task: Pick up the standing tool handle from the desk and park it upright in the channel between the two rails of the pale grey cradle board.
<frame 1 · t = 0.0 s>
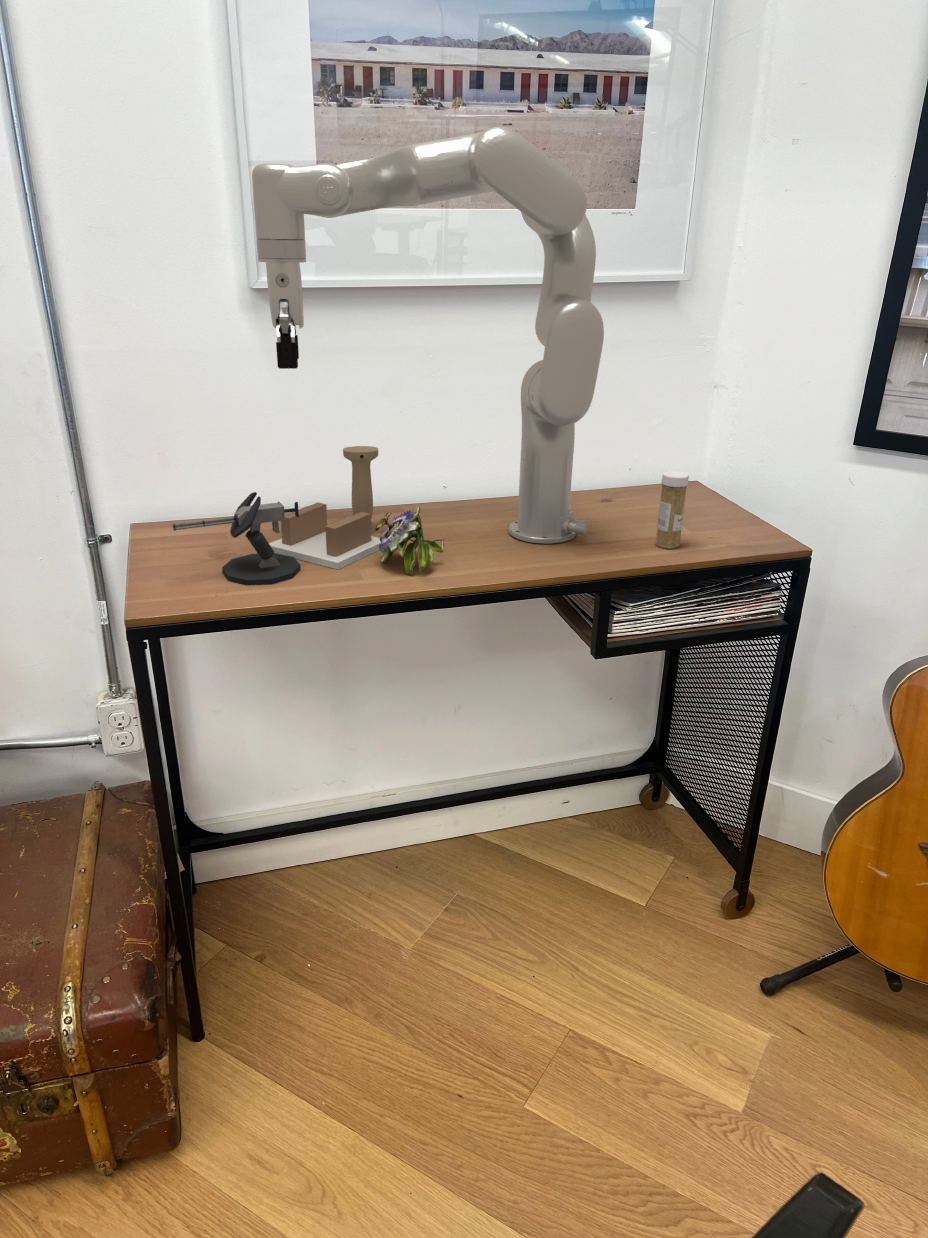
hand: (288, 363, 145), 31 cm above the table, tool pointing down, fingers open, 9 cm apart
handle: (363, 528, 166), on the table
sprinkles bottle: (667, 546, 160), on the table
passion flower: (409, 564, 149), on the table
cradle: (327, 548, 155), on the table
gun turret: (243, 575, 143), on the table
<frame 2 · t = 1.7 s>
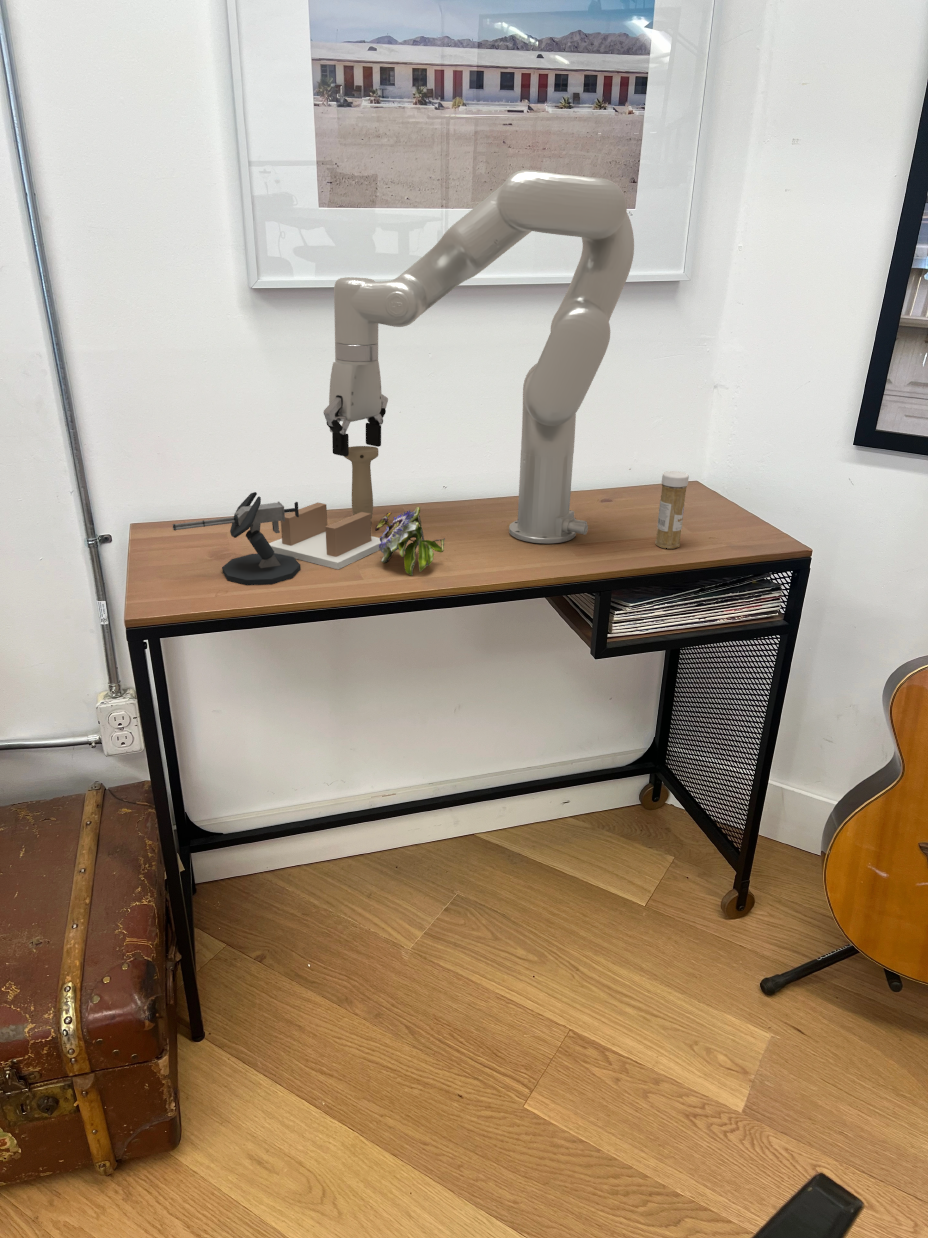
hand: (357, 450, 160), 15 cm above the table, tool pointing down, fingers open, 9 cm apart
nothing on the table moved.
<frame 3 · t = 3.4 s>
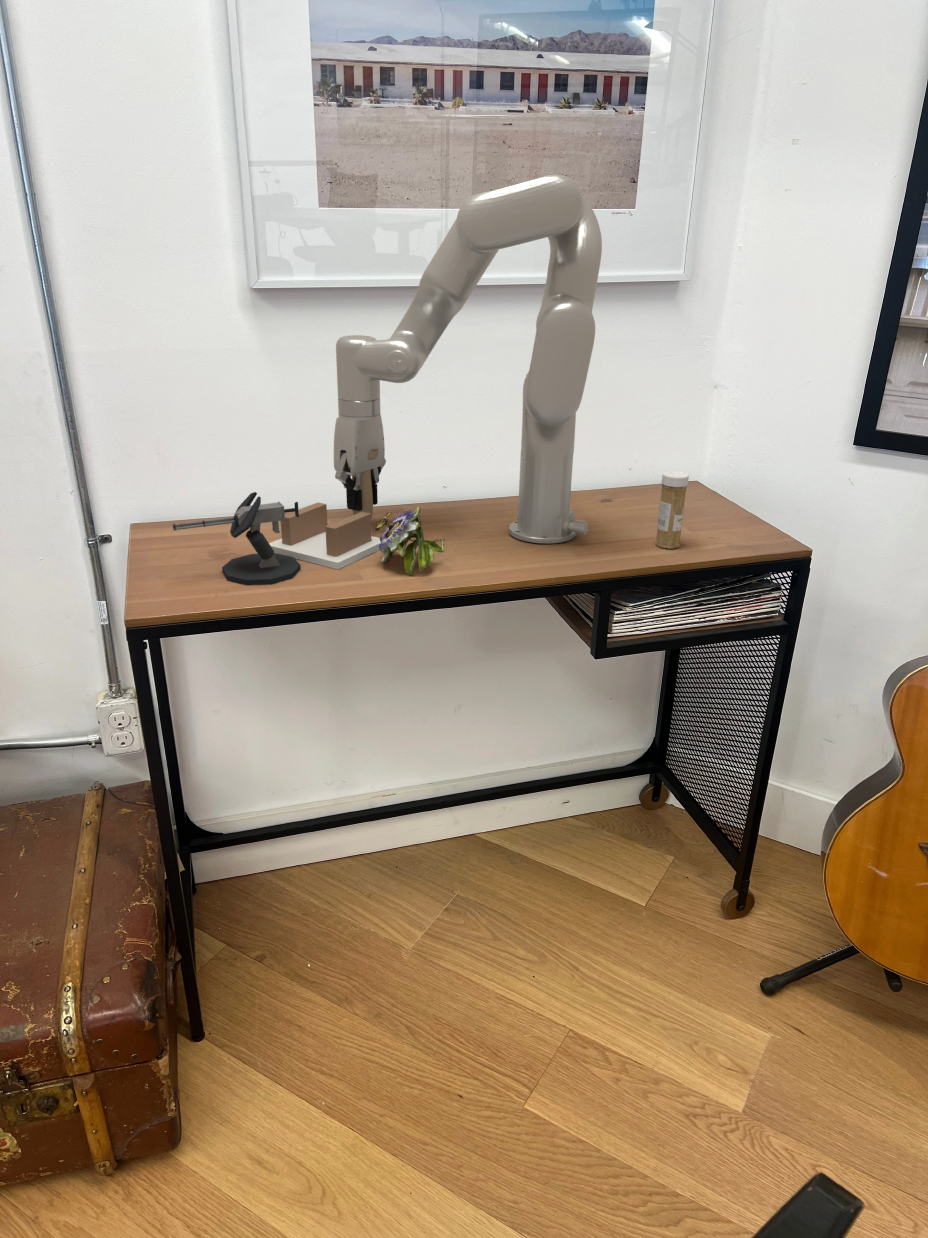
hand: (362, 505, 164), 4 cm above the table, tool pointing down, fingers closed on handle, 4 cm apart
handle: (363, 528, 166), on the table, touching gripper
everything else where it was.
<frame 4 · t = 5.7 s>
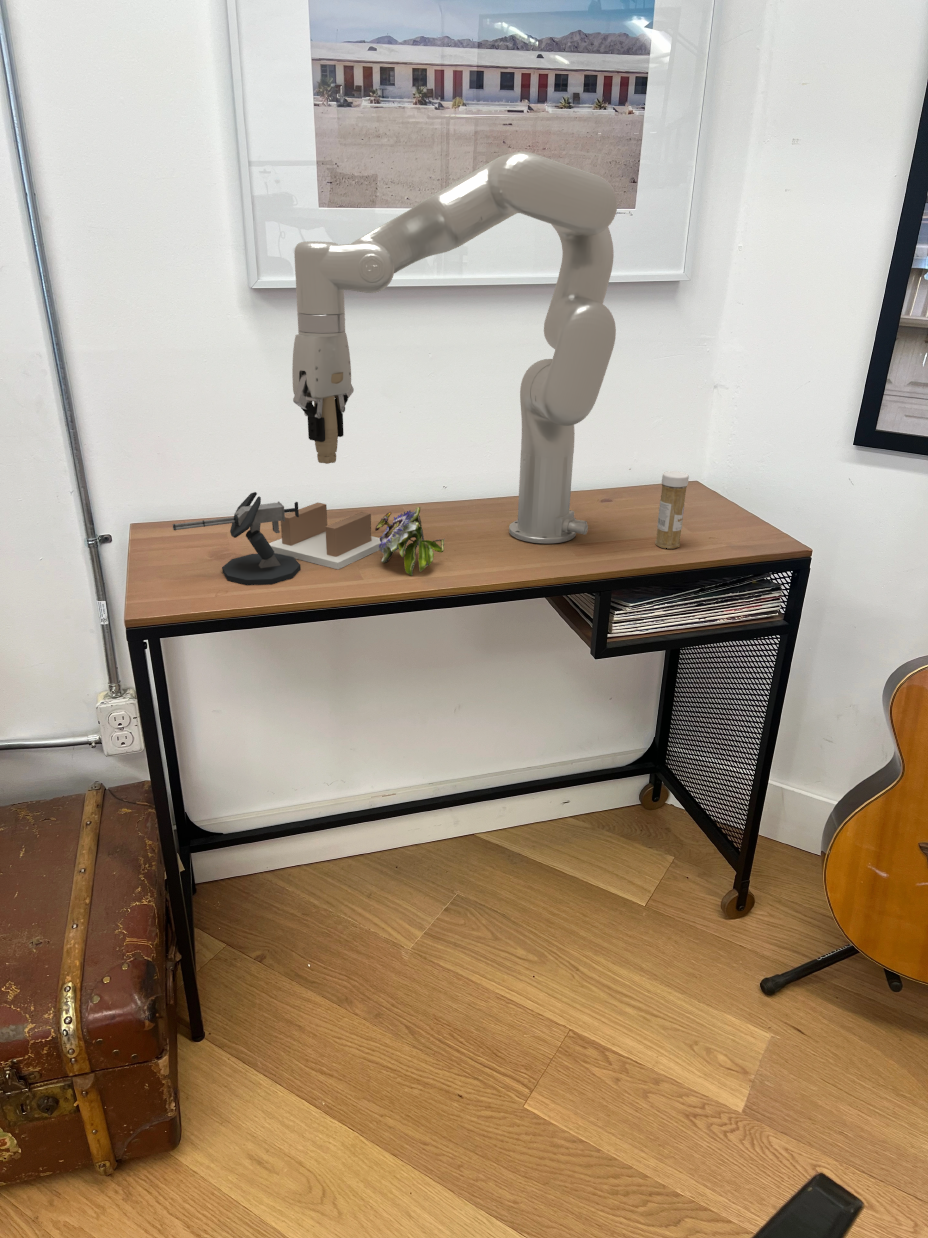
hand: (326, 436, 148), 20 cm above the table, tool pointing down, fingers closed on handle, 4 cm apart
handle: (327, 463, 150), point 15 cm above the table, touching gripper
everything else where it was.
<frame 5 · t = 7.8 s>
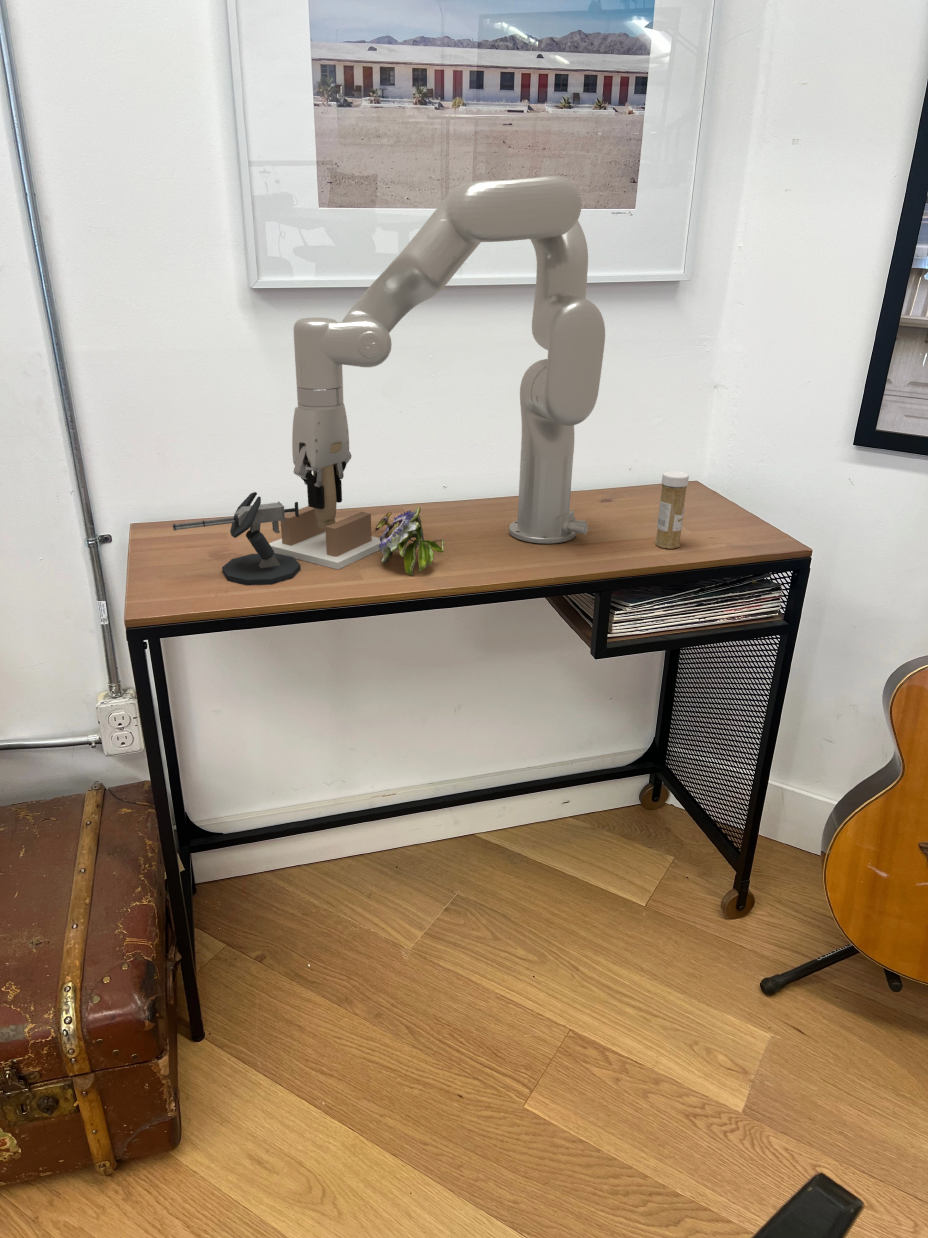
hand: (325, 503, 151), 8 cm above the table, tool pointing down, fingers closed on handle, 4 cm apart
handle: (326, 528, 153), point 4 cm above the table, touching gripper
everything else where it was.
when the fingers open (7 cm above the table, at t = 8.4 s): handle drops 2 cm, resting on cradle.
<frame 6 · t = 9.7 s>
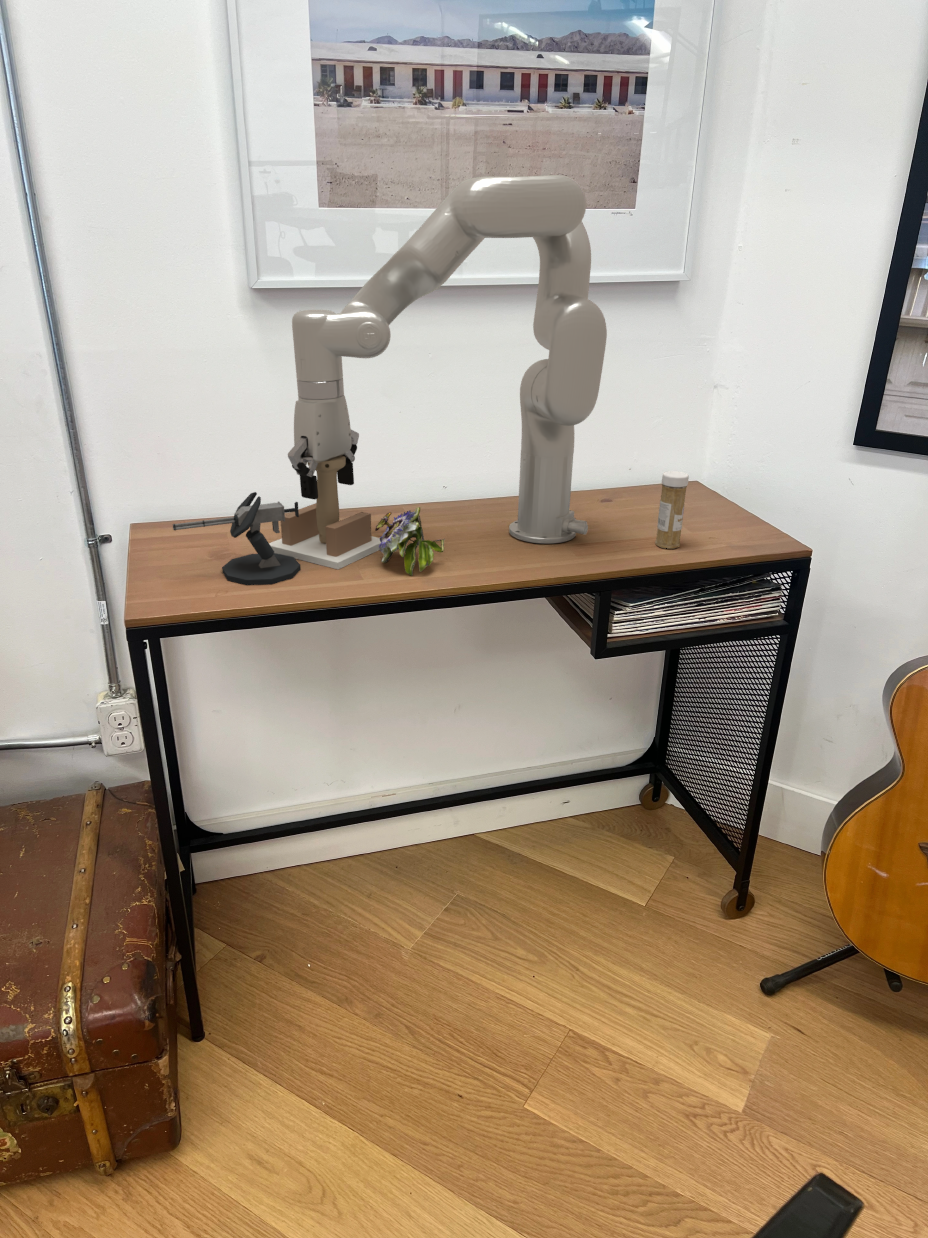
hand: (328, 490, 150), 11 cm above the table, tool pointing down, fingers open, 9 cm apart
handle: (328, 542, 154), point 1 cm above the table, touching cradle
everything else where it was.
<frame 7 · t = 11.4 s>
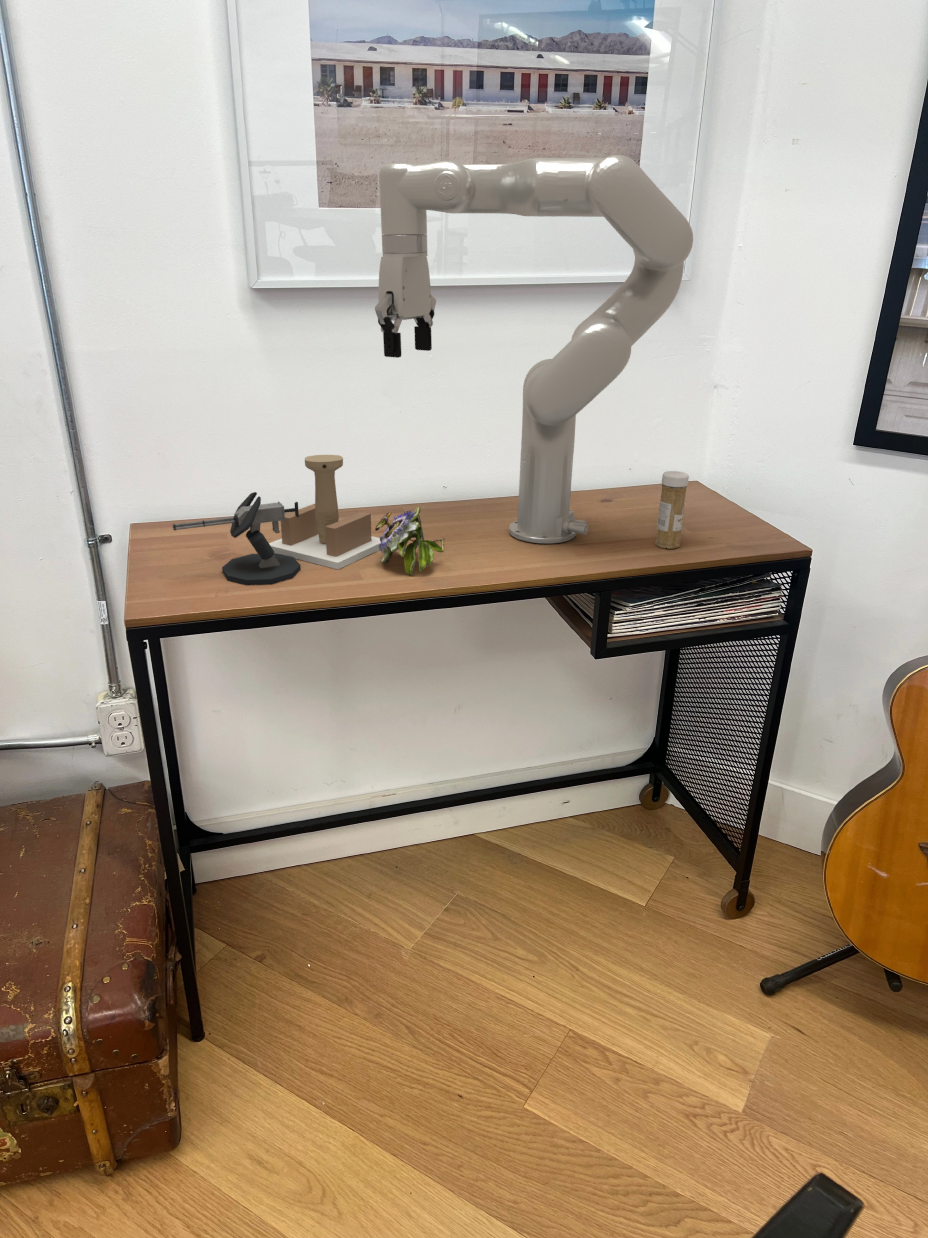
hand: (408, 353, 152), 32 cm above the table, tool pointing down, fingers open, 9 cm apart
nothing on the table moved.
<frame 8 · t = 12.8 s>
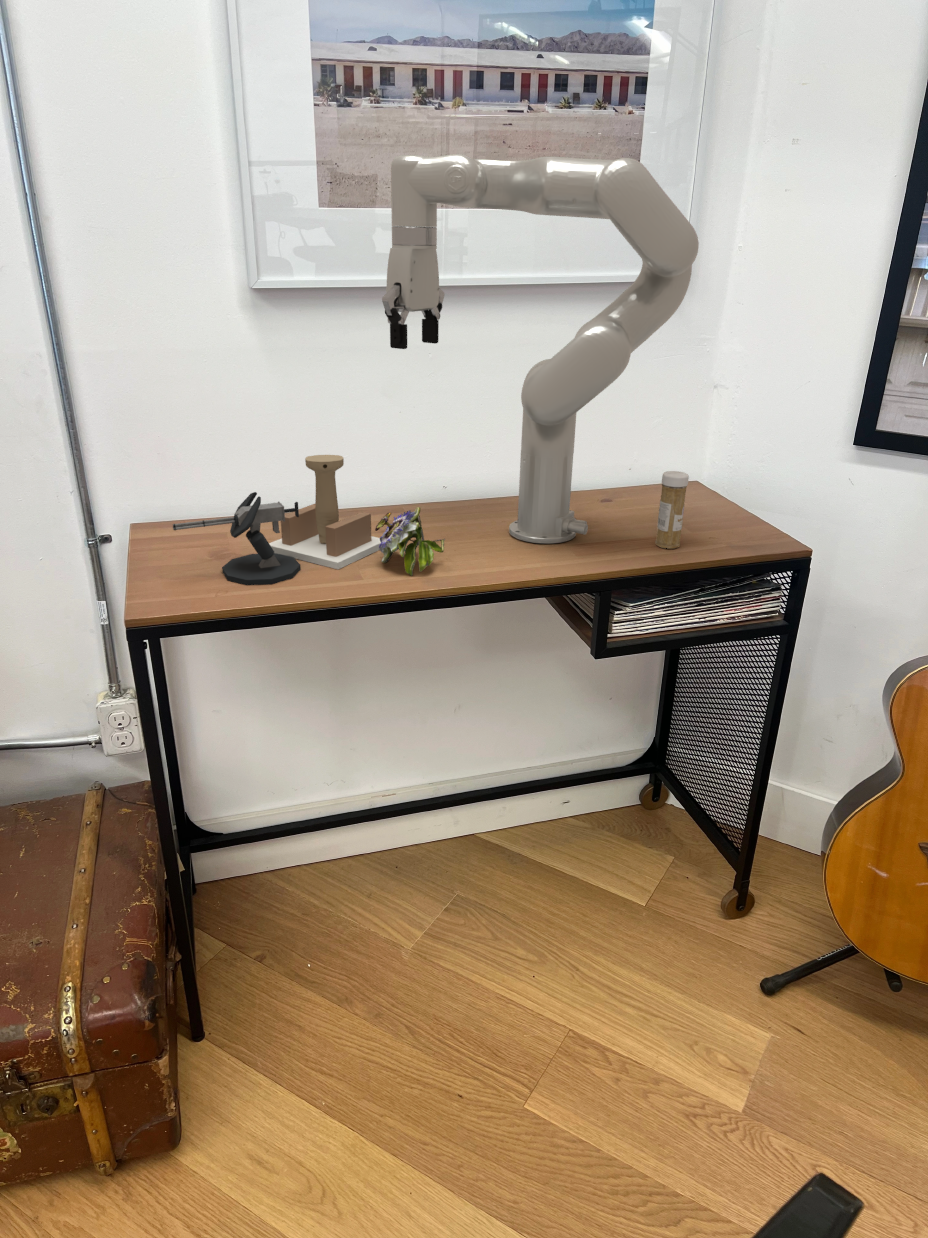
hand: (414, 345, 153), 33 cm above the table, tool pointing down, fingers open, 9 cm apart
nothing on the table moved.
at the end: handle inside the target area on the cradle (0.2 cm from its centre), point 1.0 cm above the cradle's base; handle tilted 0°; the gripper is holding nothing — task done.
